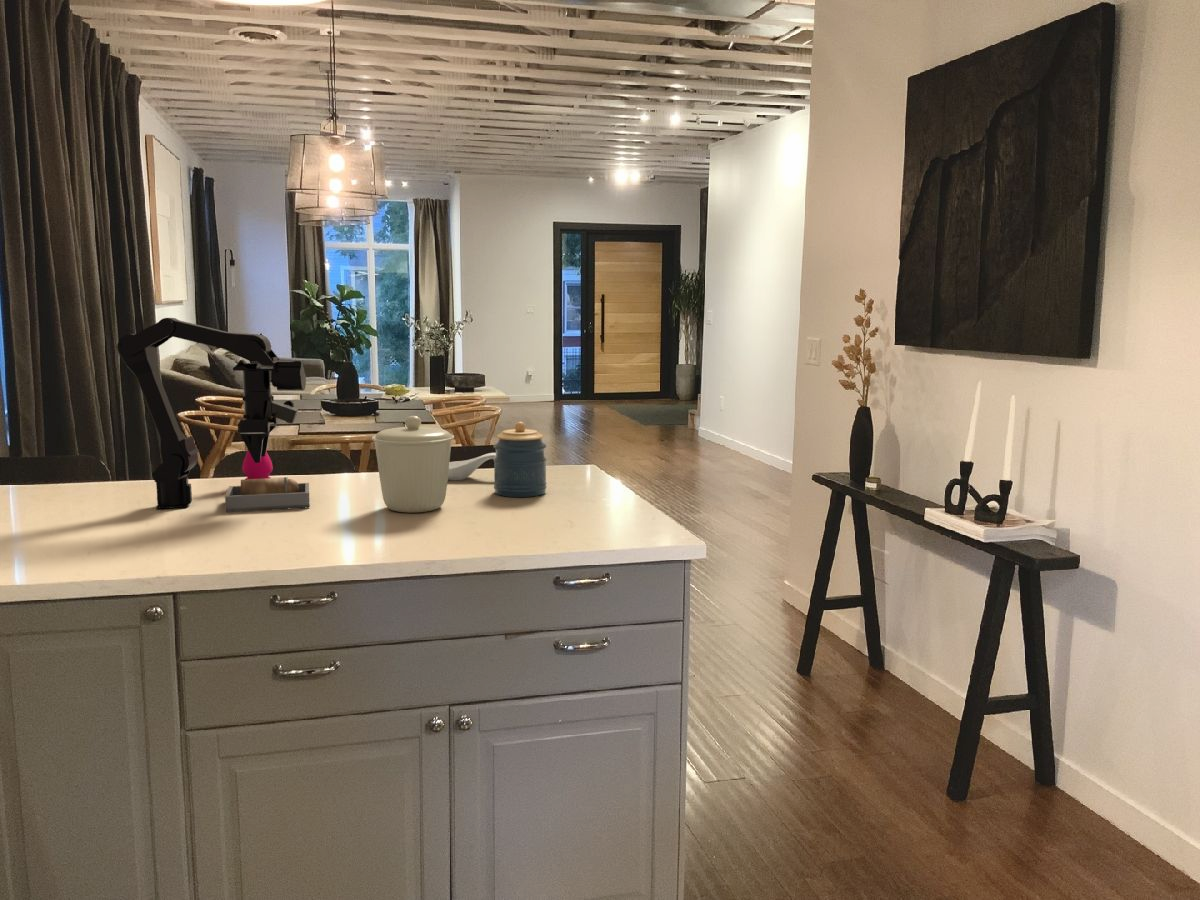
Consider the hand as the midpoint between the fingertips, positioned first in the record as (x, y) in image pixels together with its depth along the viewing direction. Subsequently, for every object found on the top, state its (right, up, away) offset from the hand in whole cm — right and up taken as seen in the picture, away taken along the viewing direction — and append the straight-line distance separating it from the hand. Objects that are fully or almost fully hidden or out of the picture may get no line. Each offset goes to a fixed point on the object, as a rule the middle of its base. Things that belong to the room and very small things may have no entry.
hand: (260, 459), depth 213 cm
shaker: (-5, -7, +2) cm, 9 cm away
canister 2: (+57, -9, +19) cm, 61 cm away
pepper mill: (-10, -7, +25) cm, 28 cm away
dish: (+1, -10, +2) cm, 11 cm away
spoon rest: (+44, -6, +37) cm, 58 cm away
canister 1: (+35, -11, 0) cm, 37 cm away
